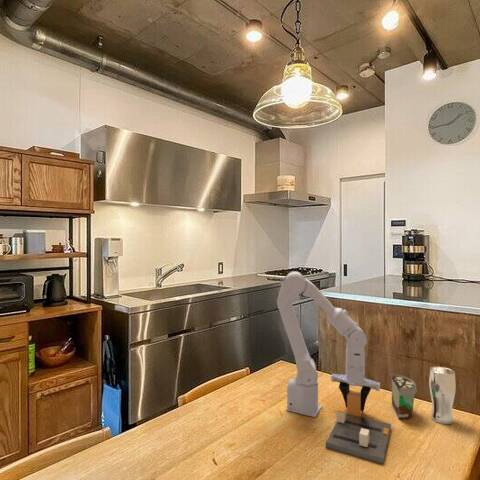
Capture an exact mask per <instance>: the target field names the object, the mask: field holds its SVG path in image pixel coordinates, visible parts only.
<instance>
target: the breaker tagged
mask: <svg viewBox="0 0 480 480" xmlns="http://www.w3.org/2000/svg"><path fill="white" fill-rule="evenodd" d="M346 414H347V408H346V406H343V405H339V406H338V408H337V409H336V415H337V416H336V422H341V423H344V422H345V420H346Z"/></svg>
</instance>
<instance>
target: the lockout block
mask: <svg viewBox="0 0 480 480" xmlns="http://www.w3.org/2000/svg"><path fill="white" fill-rule="evenodd" d="M363 412H364V411H361V391H357V390H351V389H349V392H348V394H347V408H346V414H351V415H355V416H359V417H361V416H362V414H363Z"/></svg>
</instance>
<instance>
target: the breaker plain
mask: <svg viewBox="0 0 480 480" xmlns="http://www.w3.org/2000/svg"><path fill="white" fill-rule="evenodd" d="M368 444H369V430H367V429H363V428H361V430H360V433H359V445H361V446H364V447H368Z"/></svg>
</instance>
